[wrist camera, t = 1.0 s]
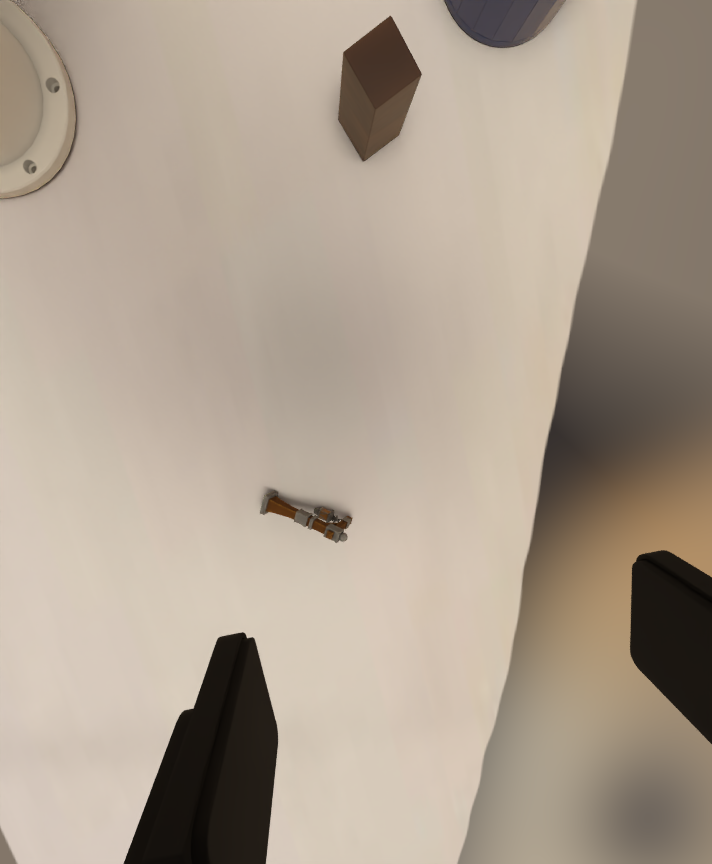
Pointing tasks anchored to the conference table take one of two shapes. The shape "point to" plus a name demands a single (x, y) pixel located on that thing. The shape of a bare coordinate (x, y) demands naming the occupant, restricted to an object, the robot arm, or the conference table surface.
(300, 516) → the wooden post with brackets
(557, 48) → the conference table surface
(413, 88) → the walnut peg
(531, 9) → the mug
